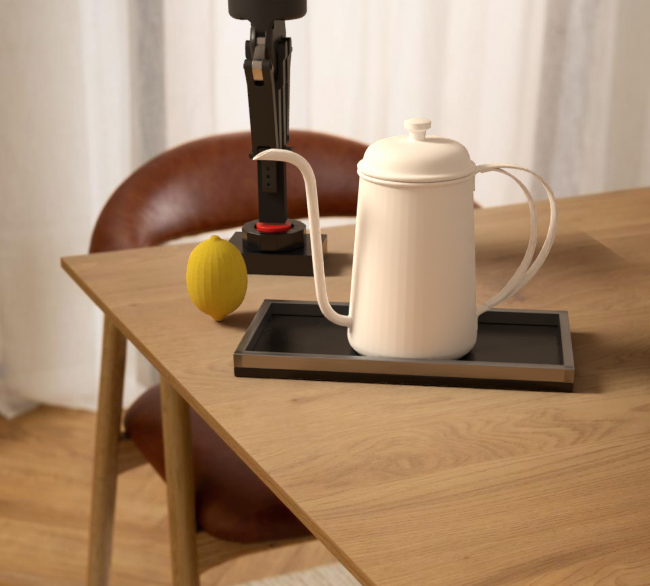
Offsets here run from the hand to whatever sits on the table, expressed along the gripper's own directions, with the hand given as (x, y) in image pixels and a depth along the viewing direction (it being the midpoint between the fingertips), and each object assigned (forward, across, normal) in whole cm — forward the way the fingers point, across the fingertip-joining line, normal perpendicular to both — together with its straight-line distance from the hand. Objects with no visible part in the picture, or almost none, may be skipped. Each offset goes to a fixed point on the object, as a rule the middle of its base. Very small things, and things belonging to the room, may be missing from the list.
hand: (273, 220), depth 122 cm
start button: (+2, 0, 0) cm, 2 cm away
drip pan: (+4, +24, +16) cm, 29 cm away
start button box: (+5, 0, 0) cm, 5 cm away
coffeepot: (+4, +25, +16) cm, 30 cm away
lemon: (+5, +18, -2) cm, 19 cm away
